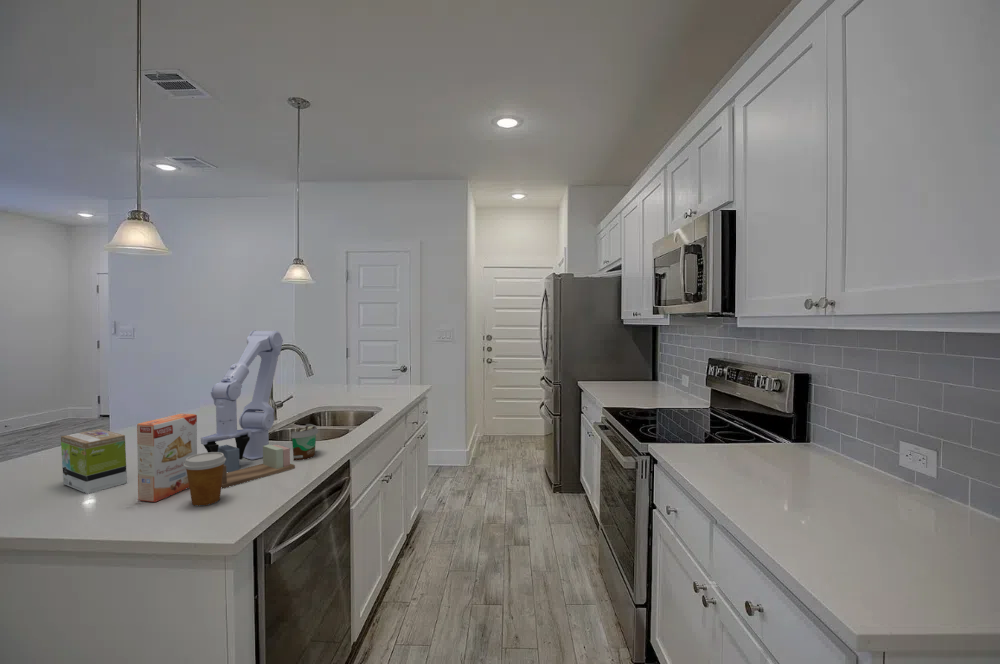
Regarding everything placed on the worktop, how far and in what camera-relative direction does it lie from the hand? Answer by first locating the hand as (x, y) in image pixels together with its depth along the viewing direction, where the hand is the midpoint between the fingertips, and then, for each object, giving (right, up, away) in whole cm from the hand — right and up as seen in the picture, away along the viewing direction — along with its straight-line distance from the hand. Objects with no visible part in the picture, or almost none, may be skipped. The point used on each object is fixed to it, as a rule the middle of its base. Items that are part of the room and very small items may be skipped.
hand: (227, 461), depth 153 cm
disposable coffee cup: (+9, -4, -26) cm, 28 cm away
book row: (+15, -1, +1) cm, 15 cm away
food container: (+20, -2, +14) cm, 25 cm away
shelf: (+11, -3, -5) cm, 12 cm away
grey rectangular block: (0, -3, 0) cm, 3 cm away
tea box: (-31, -3, -13) cm, 34 cm away
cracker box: (-5, -4, -20) cm, 21 cm away
